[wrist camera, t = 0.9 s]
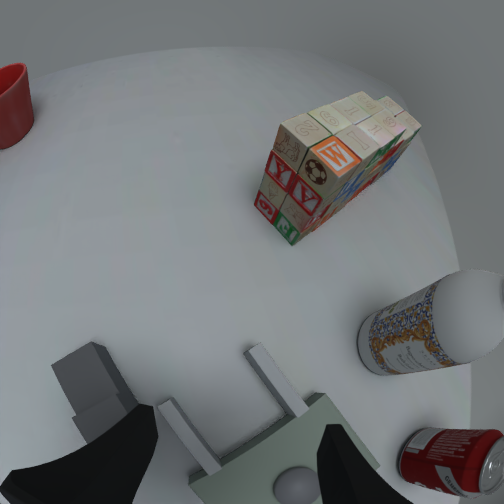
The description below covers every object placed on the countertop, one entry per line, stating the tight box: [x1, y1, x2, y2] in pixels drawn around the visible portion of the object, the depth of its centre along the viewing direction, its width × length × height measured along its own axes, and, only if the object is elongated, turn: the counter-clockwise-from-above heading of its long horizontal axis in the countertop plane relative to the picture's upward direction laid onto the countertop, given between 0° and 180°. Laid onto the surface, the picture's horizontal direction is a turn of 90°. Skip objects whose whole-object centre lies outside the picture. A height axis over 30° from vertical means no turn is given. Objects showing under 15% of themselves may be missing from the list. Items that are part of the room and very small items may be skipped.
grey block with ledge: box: [51, 342, 139, 444], centre depth 20 cm, size 4×7×5 cm, turn 35°
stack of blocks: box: [254, 91, 422, 246], centre depth 30 cm, size 21×6×12 cm, turn 130°
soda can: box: [399, 428, 504, 499], centre depth 18 cm, size 7×7×12 cm
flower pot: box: [0, 63, 34, 149], centre depth 27 cm, size 11×11×10 cm
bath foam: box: [358, 269, 504, 376], centre depth 19 cm, size 7×7×20 cm
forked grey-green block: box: [158, 342, 380, 504], centre depth 21 cm, size 14×17×3 cm
